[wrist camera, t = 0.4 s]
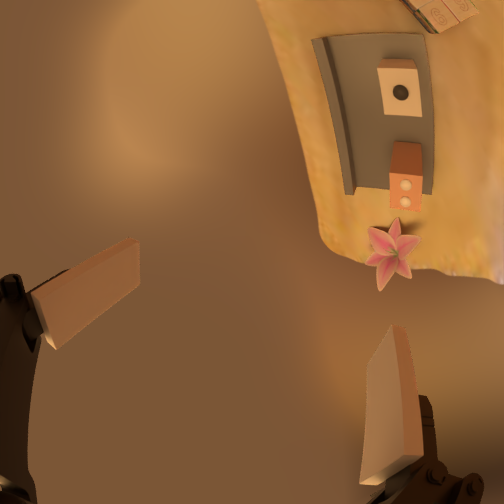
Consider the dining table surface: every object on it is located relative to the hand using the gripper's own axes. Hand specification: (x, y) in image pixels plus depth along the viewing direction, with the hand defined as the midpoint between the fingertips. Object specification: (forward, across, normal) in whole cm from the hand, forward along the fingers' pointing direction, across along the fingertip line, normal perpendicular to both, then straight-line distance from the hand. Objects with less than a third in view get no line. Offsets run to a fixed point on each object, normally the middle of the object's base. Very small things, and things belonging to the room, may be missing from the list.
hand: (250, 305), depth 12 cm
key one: (+24, +8, +20) cm, 32 cm away
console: (+29, +7, +15) cm, 33 cm away
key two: (+29, +12, +10) cm, 33 cm away
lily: (+39, +16, -4) cm, 42 cm away
